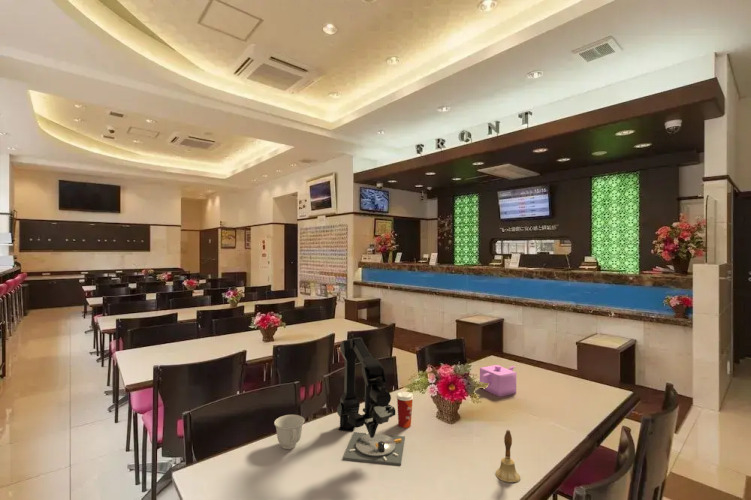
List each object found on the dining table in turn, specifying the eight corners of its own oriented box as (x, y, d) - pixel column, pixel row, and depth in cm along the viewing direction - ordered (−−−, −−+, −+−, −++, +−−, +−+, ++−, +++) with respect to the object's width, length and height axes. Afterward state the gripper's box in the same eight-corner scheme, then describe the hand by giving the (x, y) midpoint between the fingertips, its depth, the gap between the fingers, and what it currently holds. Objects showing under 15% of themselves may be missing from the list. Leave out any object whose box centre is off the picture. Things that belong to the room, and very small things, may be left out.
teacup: (279, 460, 142) (279, 433, 142) (270, 442, 155) (271, 417, 155) (310, 452, 147) (310, 427, 147) (299, 435, 160) (299, 412, 160)
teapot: (525, 391, 214) (525, 366, 214) (492, 398, 202) (493, 372, 202) (504, 382, 227) (505, 359, 227) (473, 389, 216) (473, 364, 216)
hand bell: (491, 469, 137) (492, 426, 137) (513, 468, 138) (514, 425, 138) (501, 483, 129) (501, 437, 129) (524, 482, 130) (525, 436, 130)
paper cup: (412, 429, 166) (412, 398, 166) (394, 428, 168) (395, 396, 168) (413, 421, 174) (414, 391, 174) (397, 420, 176) (397, 390, 176)
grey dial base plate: (343, 459, 143) (343, 454, 143) (353, 433, 162) (353, 429, 162) (400, 465, 139) (400, 460, 139) (404, 438, 159) (404, 434, 159)
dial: (350, 439, 155) (350, 429, 155) (386, 433, 161) (386, 423, 161) (363, 460, 140) (363, 449, 140) (402, 452, 146) (402, 441, 146)
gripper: (364, 410, 130) (363, 454, 131) (405, 397, 141) (404, 439, 142) (347, 399, 139) (346, 441, 140) (386, 388, 150) (386, 427, 151)
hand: (371, 437), depth 143 cm, fingers closed
